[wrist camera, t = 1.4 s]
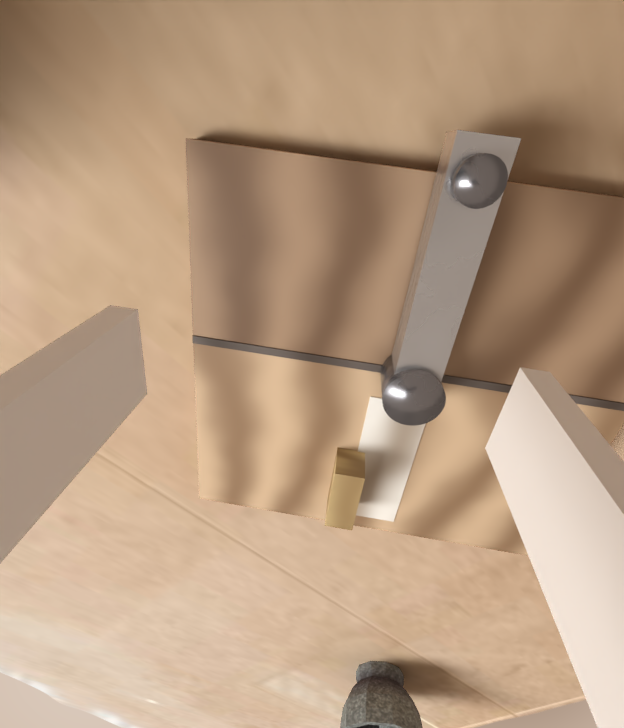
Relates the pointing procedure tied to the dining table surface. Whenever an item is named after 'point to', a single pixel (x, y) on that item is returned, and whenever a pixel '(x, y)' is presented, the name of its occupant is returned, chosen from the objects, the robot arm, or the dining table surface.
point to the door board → (382, 338)
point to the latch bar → (445, 271)
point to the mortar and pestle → (379, 699)
